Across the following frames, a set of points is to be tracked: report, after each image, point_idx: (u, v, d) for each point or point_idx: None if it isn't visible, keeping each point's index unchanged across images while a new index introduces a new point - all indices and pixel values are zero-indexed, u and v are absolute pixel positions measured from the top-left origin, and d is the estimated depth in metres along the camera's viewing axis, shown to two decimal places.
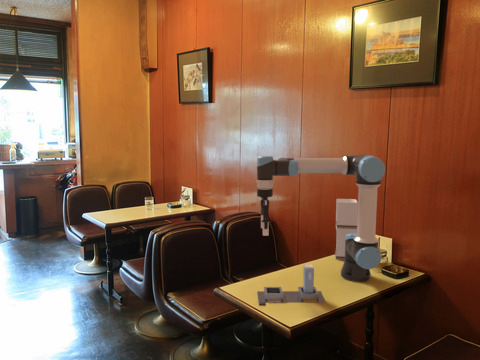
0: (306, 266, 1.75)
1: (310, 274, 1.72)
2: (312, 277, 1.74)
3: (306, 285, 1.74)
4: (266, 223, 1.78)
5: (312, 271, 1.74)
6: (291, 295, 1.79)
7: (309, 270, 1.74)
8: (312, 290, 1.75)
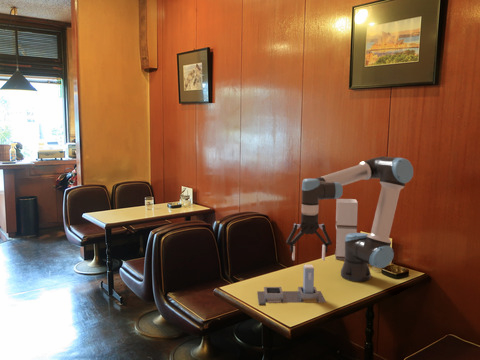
0: (306, 266, 1.75)
1: (310, 274, 1.72)
2: (312, 277, 1.74)
3: (306, 285, 1.74)
4: (290, 246, 1.74)
5: (312, 271, 1.74)
6: (291, 295, 1.79)
7: (309, 270, 1.74)
8: (312, 290, 1.75)
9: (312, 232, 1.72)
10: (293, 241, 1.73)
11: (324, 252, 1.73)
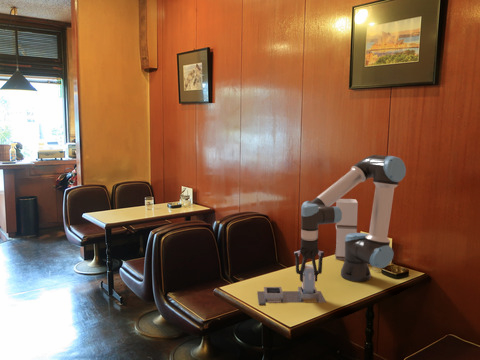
0: (306, 266, 1.75)
1: (310, 274, 1.72)
2: (312, 277, 1.74)
3: (306, 285, 1.74)
4: (300, 275, 1.76)
5: (312, 271, 1.74)
6: (291, 295, 1.79)
7: (309, 270, 1.74)
8: (312, 290, 1.75)
9: None
10: (301, 270, 1.74)
11: (314, 281, 1.75)
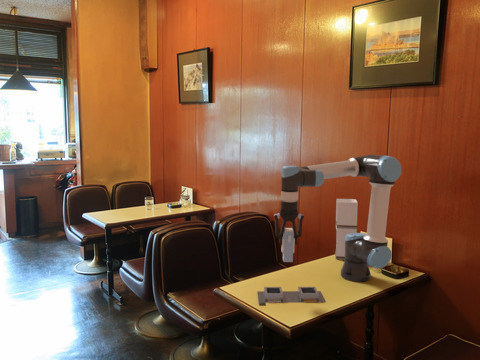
0: (286, 229, 1.72)
1: (289, 236, 1.70)
2: (292, 240, 1.72)
3: (285, 248, 1.72)
4: (279, 238, 1.73)
5: (292, 234, 1.71)
6: (291, 295, 1.79)
7: (289, 233, 1.71)
8: (291, 253, 1.72)
9: (291, 219, 1.71)
10: (281, 233, 1.72)
11: (293, 244, 1.72)
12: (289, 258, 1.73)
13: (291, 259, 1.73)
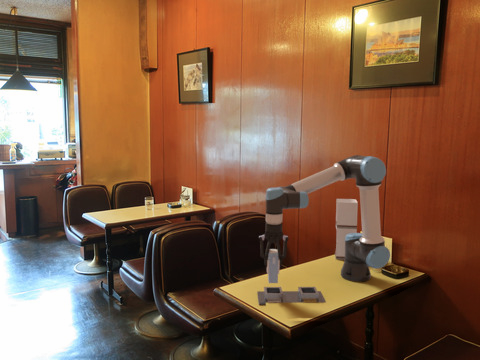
0: (271, 250, 1.74)
1: (274, 258, 1.71)
2: (276, 261, 1.73)
3: (270, 269, 1.73)
4: None
5: (276, 255, 1.73)
6: (291, 295, 1.79)
7: (273, 254, 1.72)
8: (276, 275, 1.74)
9: None
10: (265, 254, 1.73)
11: (278, 265, 1.74)
12: (274, 279, 1.74)
13: (276, 280, 1.74)
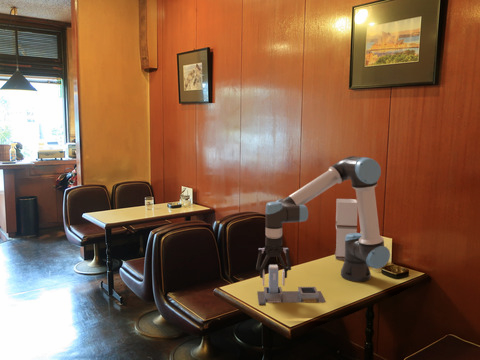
0: (271, 266, 1.75)
1: (274, 274, 1.72)
2: (277, 277, 1.74)
3: (271, 285, 1.74)
4: (260, 272, 1.75)
5: (277, 271, 1.74)
6: (291, 295, 1.79)
7: (273, 270, 1.73)
8: (277, 290, 1.75)
9: (276, 255, 1.74)
10: (262, 267, 1.74)
11: (283, 277, 1.75)
12: None
13: None
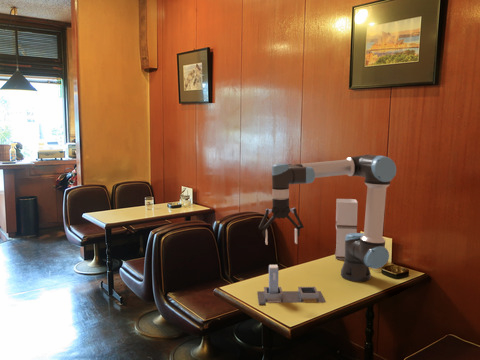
0: (271, 266, 1.75)
1: (274, 274, 1.72)
2: (277, 277, 1.74)
3: (271, 285, 1.74)
4: None
5: (277, 271, 1.74)
6: (291, 295, 1.79)
7: (273, 270, 1.73)
8: (277, 290, 1.75)
9: (284, 216, 1.75)
10: (265, 226, 1.75)
11: (296, 235, 1.76)
12: None
13: None
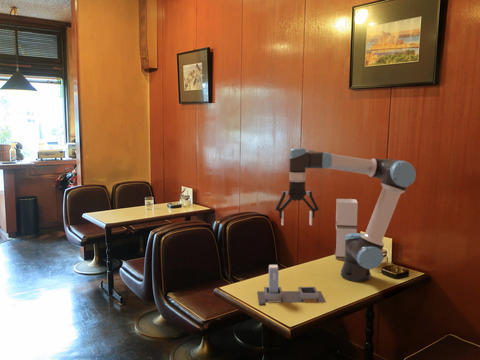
0: (271, 266, 1.75)
1: (274, 274, 1.72)
2: (277, 277, 1.74)
3: (271, 285, 1.74)
4: (279, 212, 1.84)
5: (277, 271, 1.74)
6: (291, 295, 1.79)
7: (273, 270, 1.73)
8: (277, 290, 1.75)
9: (300, 198, 1.83)
10: (282, 207, 1.83)
11: (311, 217, 1.83)
12: None
13: None
